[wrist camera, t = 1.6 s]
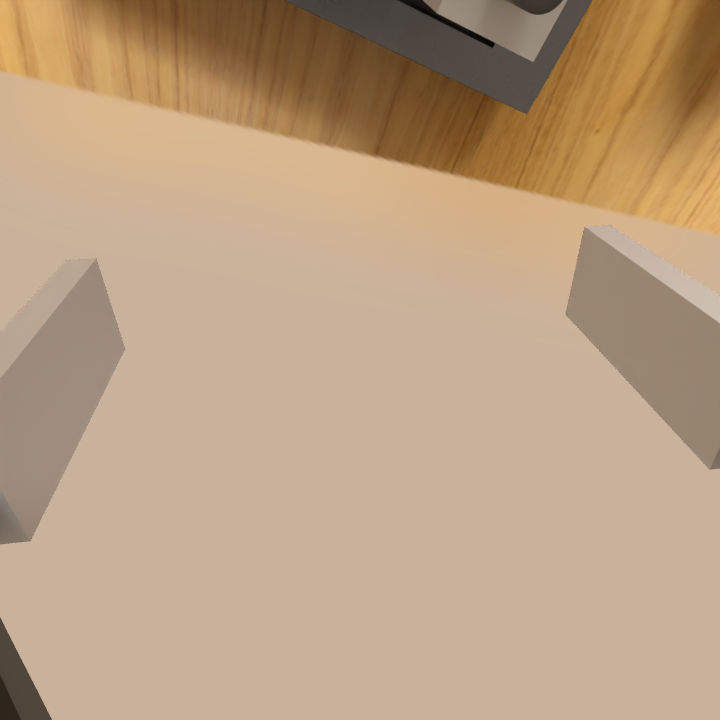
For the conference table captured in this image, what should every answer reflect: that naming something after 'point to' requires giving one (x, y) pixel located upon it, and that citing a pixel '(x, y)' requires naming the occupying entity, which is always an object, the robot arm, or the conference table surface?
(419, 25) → the power strip
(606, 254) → the robot arm
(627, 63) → the conference table surface
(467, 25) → the twin plug
